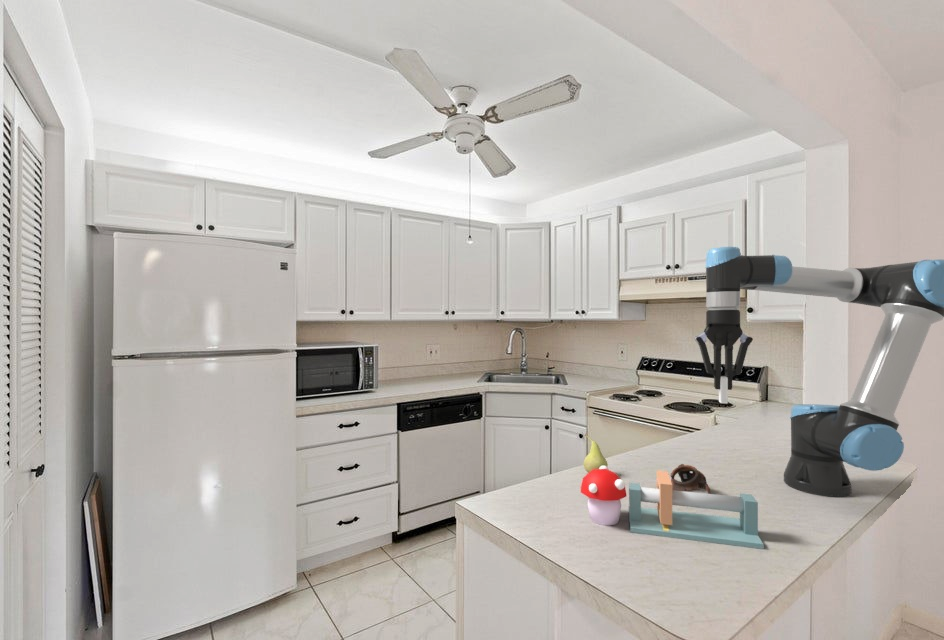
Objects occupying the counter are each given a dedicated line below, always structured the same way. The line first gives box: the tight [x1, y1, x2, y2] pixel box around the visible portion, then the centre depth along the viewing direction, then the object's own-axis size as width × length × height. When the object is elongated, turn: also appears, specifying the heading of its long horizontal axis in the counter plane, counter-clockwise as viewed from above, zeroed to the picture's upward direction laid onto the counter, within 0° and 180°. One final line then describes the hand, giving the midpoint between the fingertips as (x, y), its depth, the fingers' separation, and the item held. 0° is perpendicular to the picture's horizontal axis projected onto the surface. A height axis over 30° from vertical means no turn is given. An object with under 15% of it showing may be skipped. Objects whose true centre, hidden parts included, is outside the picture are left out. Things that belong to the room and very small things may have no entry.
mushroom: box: [580, 466, 627, 527], centre depth 108 cm, size 11×11×12 cm
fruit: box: [583, 433, 609, 474], centre depth 137 cm, size 7×8×12 cm
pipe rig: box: [628, 482, 764, 550], centre depth 103 cm, size 26×12×8 cm, turn 73°
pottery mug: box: [670, 463, 711, 494], centre depth 125 cm, size 12×9×8 cm
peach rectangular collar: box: [656, 470, 673, 525], centre depth 105 cm, size 2×9×9 cm, turn 163°
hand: (723, 402), depth 114 cm, fingers closed
